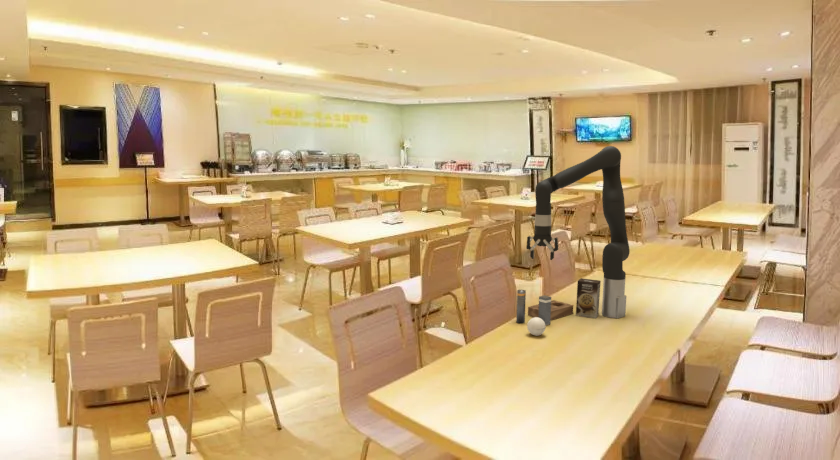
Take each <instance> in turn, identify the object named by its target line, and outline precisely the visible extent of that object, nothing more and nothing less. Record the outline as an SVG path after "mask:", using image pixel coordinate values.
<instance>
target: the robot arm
mask: <svg viewBox="0 0 840 460" xmlns="http://www.w3.org/2000/svg"><path fill="white" fill-rule="evenodd" d="M621 159H622V153H621V150H619V148H617V147H615V146H612V145H608V146H605V147H603V148H602V149H601V150H600V151H599V152H597V153H596V154H594V155H593V156H591V157H589V158H588V159H585V160H584V161H582V162H579V163H577V164H575V165H574V164H573V166H570V167H567V168H565V169H563V170H562V171H560V172H557V173H556V174H554V175H552V176H550V177H547V178H545V179H543V180H540V181H539V182H537V184H536V185H535V194H534V195H535V215H534V224H533V225H534V230H533V231H534V232H533V233H534V235H533V236H532V235H528V236H527V237H526V249H527V250H529V251H530V258H531V259H535V249H536V248H537V246H538V247H545V248H546V247H547V248H548V249H549V251H550V258H549V260H551V261H552V260H554V259H555V252H557V251H558V250H559V237H557V236H556V237H552V203H551V201H552V200H551V199H552V198H551V197H552V193H555V192H556V191H557V190H560V189H563V188H565V187H568V186H570V185H573V184H574V183H576V182H579V181H580V180H582V179H583V178H586V176H589V175H591V174H593V173H596V172H598V171H600V170H601V171H602V180H603V181H602V192H601V194H602V195H601V197H602V199H601V200H602V212H603V217H604V218H605V219H604V220H605V221H606V223H607V225H608V228H609V233H610V243H606V245H605V246H604V248H603V250H602V260H601V261H602V264H601V265H602V266H601V267H602V268H601V270H602V273H603V281H602V282H603V283H602V284H603V285H602V286H603V287H602V301H601V303H602V305H601V315H602V316H603V317H606V318H614V319H621V318H624V317H626V309H627V295H626V294H625V292H626V278H627V277H626V275H627V274H626V271H625V270H624V267H623V263H624V262H625V261H626V260H627V259H628V258H629V257H630V253H631V252H630V244H629V239H628V233H627V224H626V206H625V205H626V204H625V195H624V189H623V185H622V180H621V178H622V177H621ZM531 241H534V244H533V245H532V246H531ZM551 242H553V243H554V247H553V245H552V243H551Z"/></svg>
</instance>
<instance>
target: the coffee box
mask: <svg viewBox="0 0 840 460" xmlns="http://www.w3.org/2000/svg"><path fill="white" fill-rule="evenodd" d="M600 294H601V280H599V279H598V280H597V279H590V278H582V277H581V278H579V279H578V280H577V288H576V302H575V303H576V304H575V305H576V306H575V316H577V317H584V318H591V319H597V318H598V317H599V314H600V313H599V312H600V309H599V308H600V297H601V295H600Z"/></svg>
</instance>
